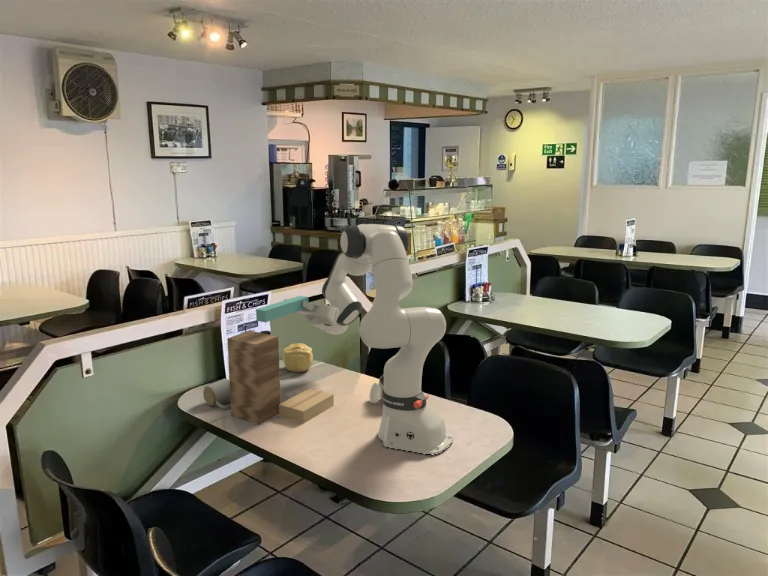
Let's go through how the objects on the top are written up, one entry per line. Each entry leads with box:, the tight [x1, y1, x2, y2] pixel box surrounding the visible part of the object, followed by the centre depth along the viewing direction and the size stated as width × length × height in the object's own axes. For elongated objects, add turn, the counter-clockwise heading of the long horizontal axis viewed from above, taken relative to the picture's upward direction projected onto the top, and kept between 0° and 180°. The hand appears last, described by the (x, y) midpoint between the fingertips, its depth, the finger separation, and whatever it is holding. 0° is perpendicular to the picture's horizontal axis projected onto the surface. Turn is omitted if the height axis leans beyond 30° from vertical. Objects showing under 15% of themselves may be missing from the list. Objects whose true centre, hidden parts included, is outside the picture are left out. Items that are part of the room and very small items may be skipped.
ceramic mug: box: [202, 378, 231, 410], centre depth 195 cm, size 11×8×8 cm
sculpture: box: [282, 342, 314, 373], centre depth 228 cm, size 12×12×11 cm
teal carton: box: [255, 295, 310, 323], centre depth 194 cm, size 4×22×4 cm, turn 149°
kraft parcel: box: [278, 387, 335, 424], centre depth 191 cm, size 10×16×4 cm, turn 149°
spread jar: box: [369, 373, 384, 404], centre depth 198 cm, size 12×11×12 cm
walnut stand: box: [227, 330, 282, 426], centre depth 186 cm, size 12×10×26 cm
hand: (296, 302), depth 200 cm, fingers closed on teal carton, 4 cm apart
